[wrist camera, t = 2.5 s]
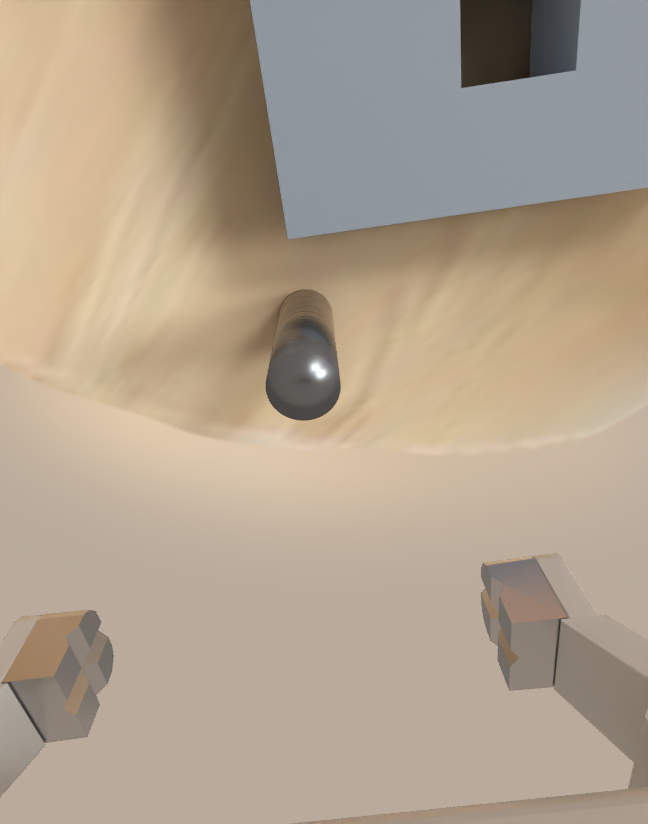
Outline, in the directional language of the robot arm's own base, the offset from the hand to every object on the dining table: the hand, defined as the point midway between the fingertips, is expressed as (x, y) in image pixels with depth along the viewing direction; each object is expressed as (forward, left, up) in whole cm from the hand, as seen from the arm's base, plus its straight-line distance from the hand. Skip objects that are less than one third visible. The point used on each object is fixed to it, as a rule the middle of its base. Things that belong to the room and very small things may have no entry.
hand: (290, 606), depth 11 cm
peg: (0, 0, -21) cm, 21 cm away
